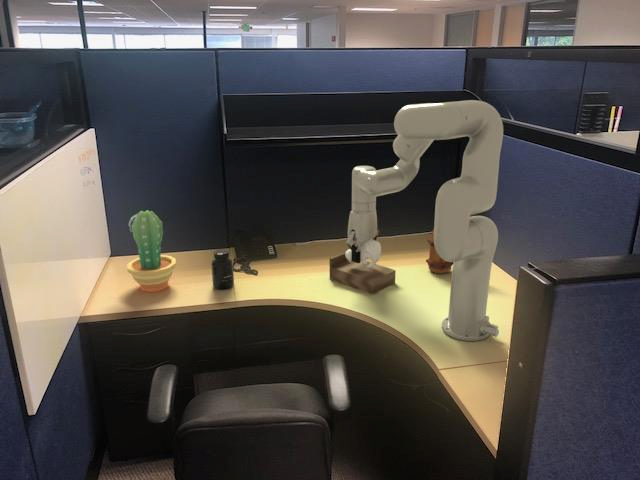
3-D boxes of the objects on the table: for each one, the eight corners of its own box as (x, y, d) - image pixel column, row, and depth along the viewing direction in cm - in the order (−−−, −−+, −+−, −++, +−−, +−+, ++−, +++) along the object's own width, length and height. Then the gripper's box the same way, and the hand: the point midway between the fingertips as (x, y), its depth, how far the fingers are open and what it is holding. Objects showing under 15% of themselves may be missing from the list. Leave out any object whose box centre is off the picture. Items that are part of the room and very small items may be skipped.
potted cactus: (172, 273, 178) (164, 203, 169) (184, 289, 165) (176, 214, 157) (125, 282, 171) (115, 209, 162) (134, 300, 158) (123, 222, 150)
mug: (422, 272, 176) (424, 231, 171) (428, 264, 183) (431, 224, 178) (465, 280, 170) (469, 237, 165) (470, 271, 177) (474, 230, 172)
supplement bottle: (229, 291, 163) (226, 256, 159) (209, 289, 165) (206, 254, 161) (237, 282, 170) (235, 248, 166) (218, 281, 171) (215, 247, 167)
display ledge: (395, 282, 168) (396, 261, 166) (372, 294, 160) (373, 272, 158) (352, 268, 180) (352, 248, 178) (329, 279, 172) (329, 258, 169)
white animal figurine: (375, 244, 160) (340, 242, 165) (377, 269, 162) (342, 267, 168) (382, 237, 165) (348, 236, 170) (384, 263, 167) (350, 260, 173)
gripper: (371, 198, 170) (369, 249, 176) (336, 209, 158) (336, 263, 164) (389, 202, 165) (387, 254, 171) (355, 213, 153) (355, 269, 159)
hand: (362, 258), depth 167 cm, fingers closed on white animal figurine, 6 cm apart
